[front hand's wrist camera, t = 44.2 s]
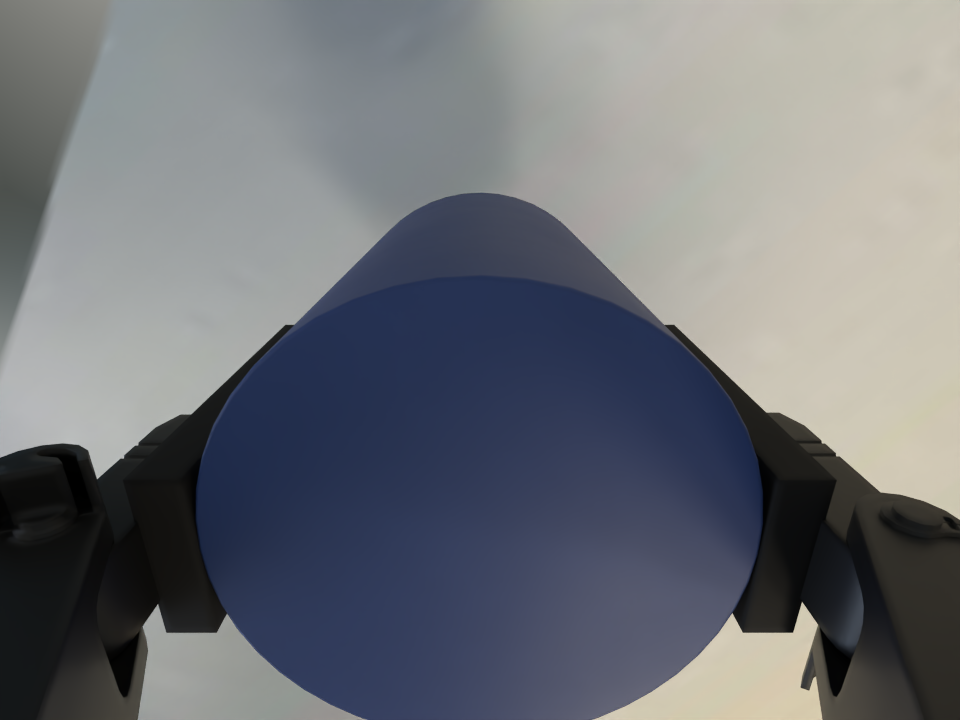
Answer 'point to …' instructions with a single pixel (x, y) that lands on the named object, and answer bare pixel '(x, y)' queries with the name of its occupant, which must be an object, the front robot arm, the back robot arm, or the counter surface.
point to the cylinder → (479, 482)
